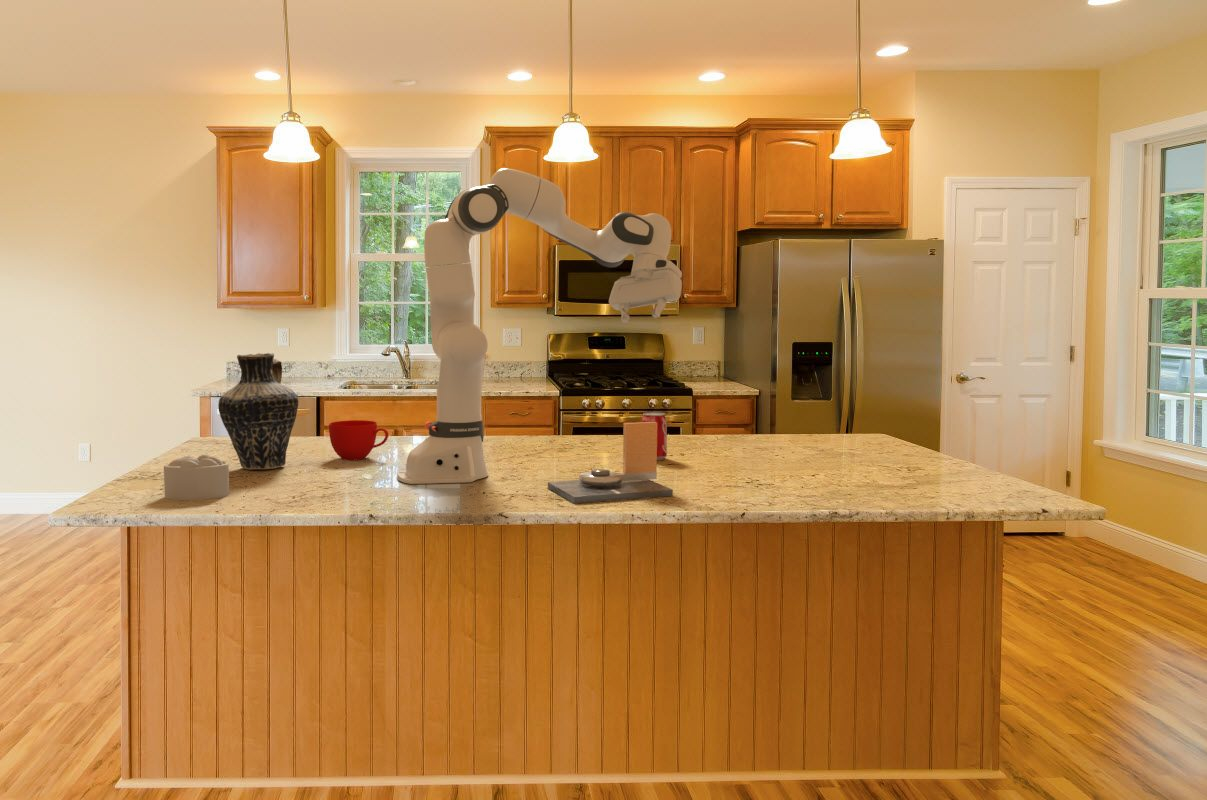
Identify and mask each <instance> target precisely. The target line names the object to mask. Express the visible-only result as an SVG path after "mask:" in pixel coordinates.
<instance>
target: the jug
mask: <svg viewBox="0 0 1207 800" xmlns="http://www.w3.org/2000/svg"><path fill="white" fill-rule="evenodd" d="M274 357H275V353H269V352H268V353H259V352H258V353H256V354H252V353H251V354H250V353H249V354H237V356H236V358H237V361H238V365H239V368H240V373H241V374H240V378H239V379H240V380H239V381H238V383H237V384H236V385H234V386H233V387H232V388H230V389H229V390H227V391H225V392H224V393H223V394H222V395H221V396H220V398H219V399H218V407H217V408H218V412H219V413H218V414H219V416H220V419H221V421H222V424H223V426H224V428H225V430H226V432H227V434H228V436H229V438H230V441H231V443H232V446H233V449H234V451H235V452H236V455H237V457H238V459H239V463H240V466H241V468H242V469H245V470H271V469H277V468H280V467H283V466H285V465H286V464H287V463H286V461H287V460H286V458H287V449H288V446H289V443H290V438H291V434H292V430H293V427H294V425H295V421H296V418H297V413H298V407H299V397H298V395H297V394H296V392H295V391H294V390H292V389H291V388H289V387H288V386H285V385H283V384H282V383H281V382H282V376H283V364H282V362H281V360H279V359H277V358H274Z"/></svg>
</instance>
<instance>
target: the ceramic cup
mask: <svg viewBox="0 0 1207 800" xmlns="http://www.w3.org/2000/svg"><path fill="white" fill-rule="evenodd" d="M377 427H378V424H377V421H373V420H357V419H354V420H353V419H351V420H340V421H333V422H330V423H328V433H329V434H328V435H329V441H330V444H331V447H332V449H333V450H334V452H335V453H336V454H337V456H338V457H339V458H340V459H341V460H343V461H360V459H362V460H365V459H367V457H368V456H369V454H370V453H371V452H372V450H373V449H375V448H378V447H381V446H382V445H385V443H386V442H388V439H389V432H388V430H387V429H386V428H384V427H379V428H377ZM381 431H382V432H384V439H383V440H382V441H381V442H379V443H376V439H377V433H379V432H381ZM375 443H376V444H375Z"/></svg>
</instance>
